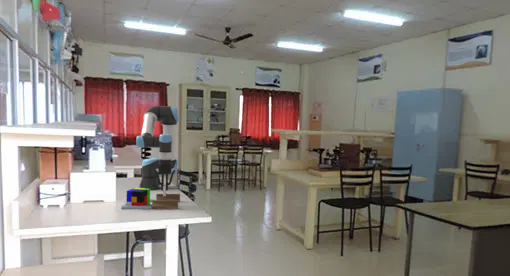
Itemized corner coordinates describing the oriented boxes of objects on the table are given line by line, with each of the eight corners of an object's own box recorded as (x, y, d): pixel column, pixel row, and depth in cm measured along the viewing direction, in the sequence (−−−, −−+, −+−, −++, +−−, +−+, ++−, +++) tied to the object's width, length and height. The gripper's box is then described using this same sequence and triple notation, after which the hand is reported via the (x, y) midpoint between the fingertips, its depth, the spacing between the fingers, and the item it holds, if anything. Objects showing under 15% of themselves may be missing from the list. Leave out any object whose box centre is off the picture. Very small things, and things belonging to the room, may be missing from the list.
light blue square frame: (128, 201, 209) (128, 199, 209) (154, 201, 212) (154, 199, 212) (121, 208, 191) (121, 206, 191) (150, 208, 194) (150, 206, 194)
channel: (156, 201, 212) (156, 193, 212) (179, 201, 215) (180, 193, 214) (152, 208, 194) (152, 200, 194) (177, 208, 196) (177, 200, 196)
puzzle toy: (126, 207, 196) (126, 190, 196) (135, 203, 206) (135, 187, 206) (141, 208, 194) (141, 192, 194) (149, 204, 204) (150, 188, 204)
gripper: (153, 159, 198) (152, 197, 200) (175, 159, 200) (174, 197, 202) (155, 157, 205) (154, 194, 207) (176, 158, 207) (175, 194, 209)
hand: (164, 195), depth 204 cm, fingers closed
